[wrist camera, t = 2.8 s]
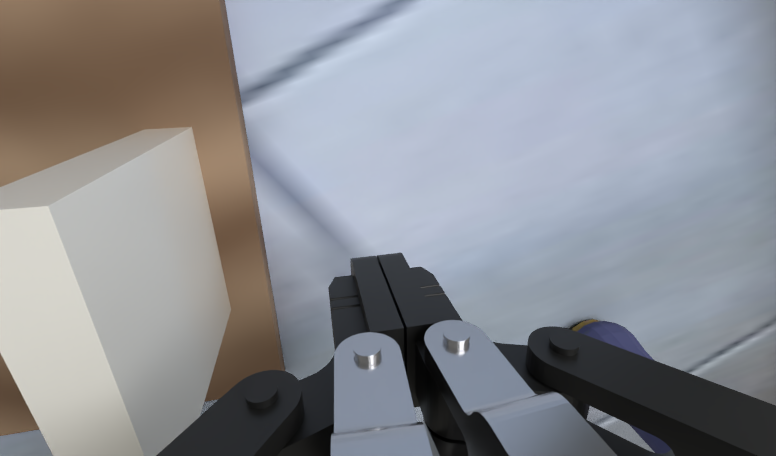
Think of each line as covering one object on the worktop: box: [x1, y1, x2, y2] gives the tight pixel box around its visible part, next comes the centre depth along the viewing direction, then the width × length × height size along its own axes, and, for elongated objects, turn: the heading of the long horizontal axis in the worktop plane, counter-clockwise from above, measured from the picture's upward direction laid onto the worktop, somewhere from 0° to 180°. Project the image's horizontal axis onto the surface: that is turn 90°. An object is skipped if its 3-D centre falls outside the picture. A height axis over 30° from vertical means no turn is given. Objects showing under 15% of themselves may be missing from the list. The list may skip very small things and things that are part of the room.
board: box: [0, 0, 285, 436], centre depth 15 cm, size 18×16×1 cm
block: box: [0, 127, 231, 456], centre depth 12 cm, size 8×2×9 cm, turn 2°
